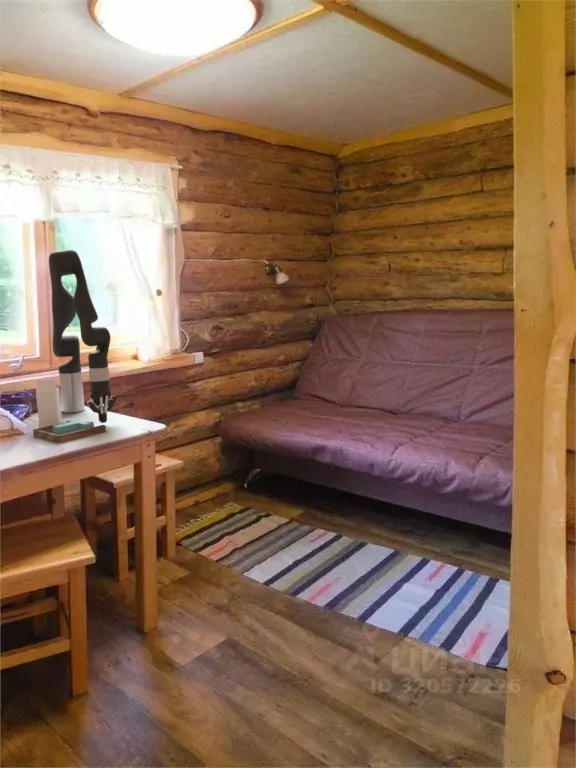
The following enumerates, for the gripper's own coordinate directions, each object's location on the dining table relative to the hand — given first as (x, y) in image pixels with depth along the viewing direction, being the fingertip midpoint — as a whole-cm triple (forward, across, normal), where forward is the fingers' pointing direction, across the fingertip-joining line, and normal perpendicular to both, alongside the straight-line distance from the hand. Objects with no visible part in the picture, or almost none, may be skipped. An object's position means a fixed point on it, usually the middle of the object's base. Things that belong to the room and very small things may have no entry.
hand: (103, 422), depth 235 cm
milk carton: (+2, +13, -16) cm, 21 cm away
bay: (+1, +14, 0) cm, 14 cm away
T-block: (+1, +14, 0) cm, 14 cm away
